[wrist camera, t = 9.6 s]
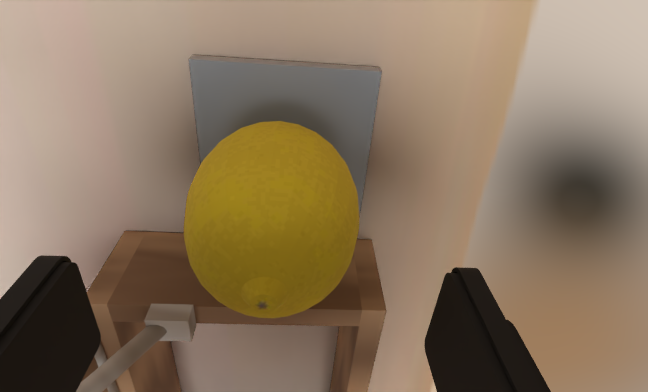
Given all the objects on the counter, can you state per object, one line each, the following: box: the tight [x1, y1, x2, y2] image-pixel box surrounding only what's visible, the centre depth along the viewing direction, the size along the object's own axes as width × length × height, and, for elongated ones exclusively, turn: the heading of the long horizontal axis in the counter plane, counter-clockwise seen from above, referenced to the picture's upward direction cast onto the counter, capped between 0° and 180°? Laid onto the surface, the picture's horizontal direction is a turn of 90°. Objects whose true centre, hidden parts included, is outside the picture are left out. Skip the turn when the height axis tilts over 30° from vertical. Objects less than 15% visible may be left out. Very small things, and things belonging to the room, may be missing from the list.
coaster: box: [189, 55, 382, 217], centre depth 17 cm, size 7×7×1 cm
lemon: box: [184, 121, 359, 318], centre depth 13 cm, size 6×6×8 cm
